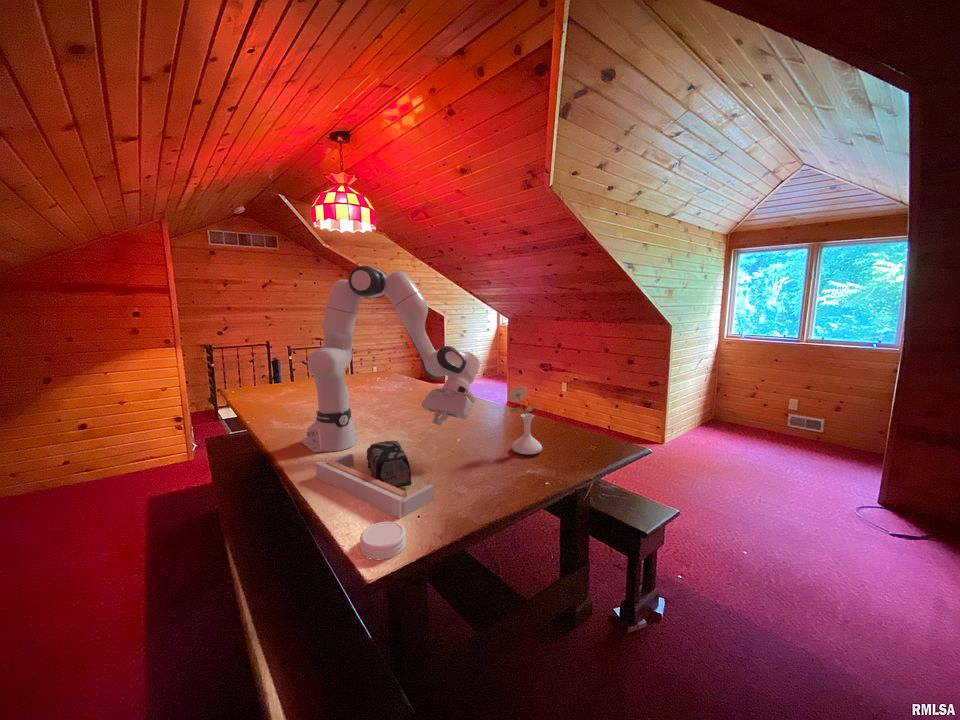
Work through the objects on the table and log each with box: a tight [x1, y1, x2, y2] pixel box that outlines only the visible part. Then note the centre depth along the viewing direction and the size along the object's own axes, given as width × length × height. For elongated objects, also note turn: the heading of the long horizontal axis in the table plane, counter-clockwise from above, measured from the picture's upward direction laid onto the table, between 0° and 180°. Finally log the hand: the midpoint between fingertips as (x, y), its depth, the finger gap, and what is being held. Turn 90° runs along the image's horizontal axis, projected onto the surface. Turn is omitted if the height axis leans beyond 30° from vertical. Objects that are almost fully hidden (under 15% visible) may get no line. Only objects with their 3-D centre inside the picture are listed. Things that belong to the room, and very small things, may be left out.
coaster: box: [359, 521, 407, 560], centre depth 87 cm, size 10×10×4 cm
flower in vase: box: [507, 385, 543, 456], centre depth 141 cm, size 13×11×25 cm
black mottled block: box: [366, 440, 413, 489], centre depth 122 cm, size 11×25×10 cm, turn 23°
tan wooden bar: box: [325, 459, 408, 498], centre depth 112 cm, size 35×2×5 cm, turn 53°
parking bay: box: [314, 453, 435, 520], centre depth 114 cm, size 39×12×5 cm, turn 53°
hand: (436, 423), depth 135 cm, fingers closed
